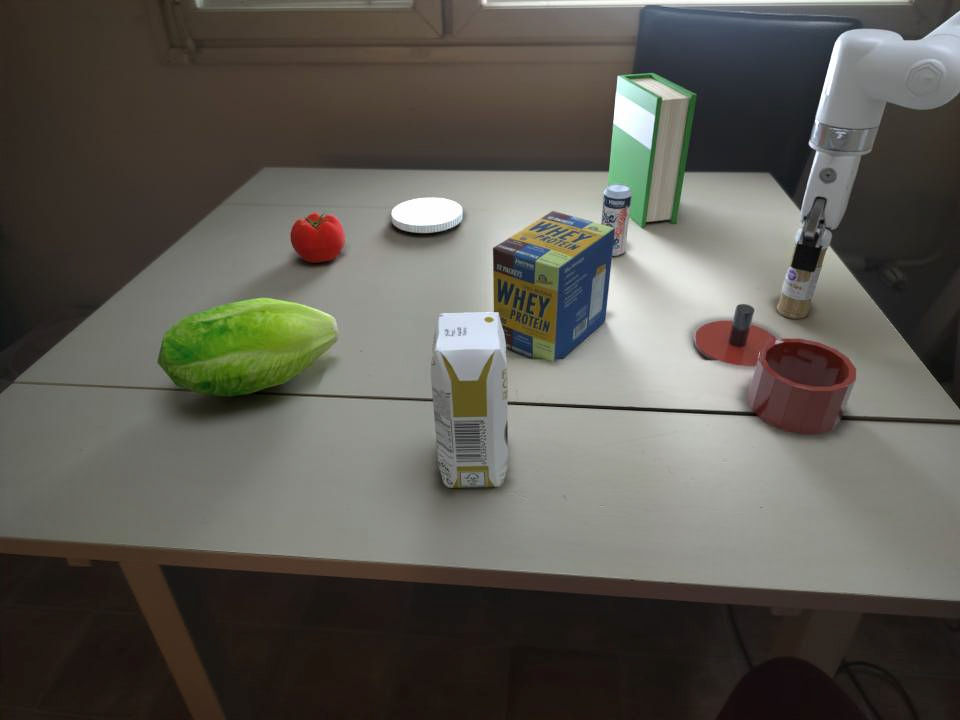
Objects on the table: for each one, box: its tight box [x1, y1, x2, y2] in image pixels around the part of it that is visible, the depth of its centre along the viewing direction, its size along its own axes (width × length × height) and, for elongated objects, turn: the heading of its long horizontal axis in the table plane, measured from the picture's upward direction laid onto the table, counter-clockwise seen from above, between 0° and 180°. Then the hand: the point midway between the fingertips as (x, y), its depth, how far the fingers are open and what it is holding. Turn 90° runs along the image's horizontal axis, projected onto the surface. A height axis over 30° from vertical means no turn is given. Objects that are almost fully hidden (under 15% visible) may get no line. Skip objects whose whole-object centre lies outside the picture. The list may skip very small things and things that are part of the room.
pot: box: [746, 338, 857, 435], centre depth 81 cm, size 11×11×8 cm
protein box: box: [492, 210, 615, 362], centre depth 95 cm, size 10×15×16 cm
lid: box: [693, 303, 778, 367], centre depth 93 cm, size 12×12×7 cm
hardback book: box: [607, 72, 698, 228], centre depth 129 cm, size 18×7×24 cm, turn 13°
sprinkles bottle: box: [776, 226, 833, 320], centre depth 98 cm, size 5×5×14 cm
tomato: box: [289, 211, 346, 264], centre depth 119 cm, size 9×9×8 cm
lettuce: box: [156, 297, 340, 398], centre depth 87 cm, size 13×23×12 cm, turn 110°
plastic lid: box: [390, 197, 463, 234], centre depth 132 cm, size 14×14×2 cm
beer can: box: [600, 184, 632, 257], centre depth 117 cm, size 5×5×12 cm
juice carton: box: [430, 311, 509, 489], centre depth 71 cm, size 8×9×19 cm
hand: (806, 260), depth 97 cm, fingers closed on sprinkles bottle, 4 cm apart
